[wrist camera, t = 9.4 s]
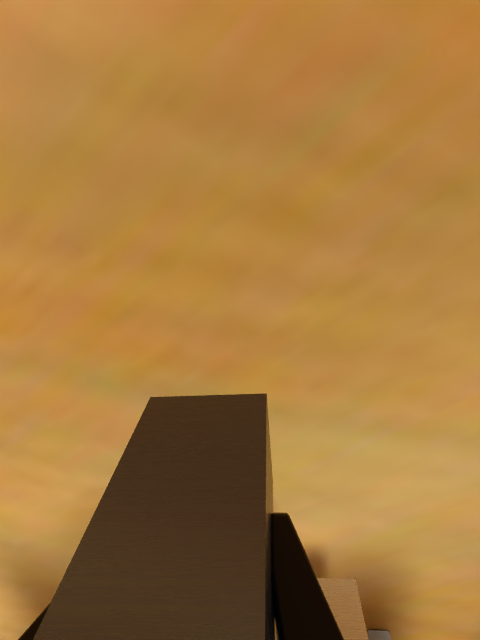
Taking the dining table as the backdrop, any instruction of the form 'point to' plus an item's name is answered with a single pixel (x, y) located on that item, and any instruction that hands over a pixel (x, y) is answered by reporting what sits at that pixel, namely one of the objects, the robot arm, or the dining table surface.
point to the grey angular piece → (185, 535)
